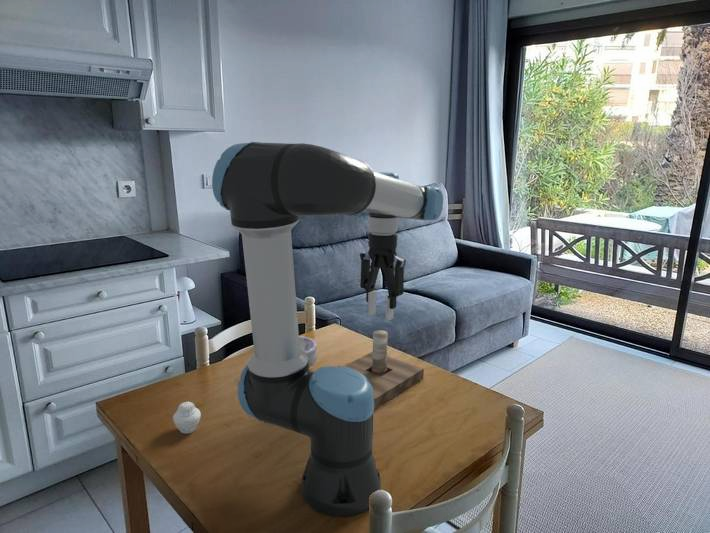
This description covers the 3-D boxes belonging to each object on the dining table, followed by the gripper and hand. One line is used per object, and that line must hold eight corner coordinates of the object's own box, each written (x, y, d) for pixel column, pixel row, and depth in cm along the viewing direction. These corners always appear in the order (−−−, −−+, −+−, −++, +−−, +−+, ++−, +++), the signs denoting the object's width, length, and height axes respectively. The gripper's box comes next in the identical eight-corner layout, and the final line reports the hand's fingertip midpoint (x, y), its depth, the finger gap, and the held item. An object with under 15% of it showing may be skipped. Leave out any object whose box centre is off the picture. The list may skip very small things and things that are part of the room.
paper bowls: (259, 364, 149) (258, 339, 147) (307, 355, 155) (306, 331, 153) (273, 386, 136) (272, 359, 134) (325, 376, 142) (325, 350, 140)
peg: (380, 384, 137) (381, 337, 134) (368, 379, 140) (369, 333, 136) (389, 379, 140) (391, 332, 137) (377, 374, 143) (378, 329, 140)
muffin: (186, 440, 111) (184, 412, 109) (168, 432, 114) (165, 404, 112) (207, 427, 116) (205, 400, 114) (189, 419, 119) (187, 393, 117)
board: (371, 411, 123) (371, 400, 123) (318, 388, 134) (318, 378, 134) (423, 378, 141) (423, 368, 141) (373, 360, 152) (373, 351, 152)
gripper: (420, 235, 127) (416, 321, 133) (364, 226, 138) (363, 306, 144) (403, 239, 121) (400, 328, 127) (346, 230, 133) (346, 312, 138)
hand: (380, 316), depth 136 cm, fingers open, 5 cm apart
